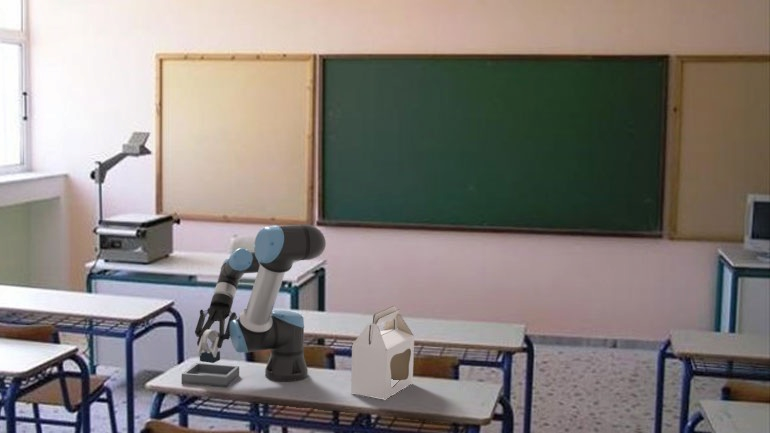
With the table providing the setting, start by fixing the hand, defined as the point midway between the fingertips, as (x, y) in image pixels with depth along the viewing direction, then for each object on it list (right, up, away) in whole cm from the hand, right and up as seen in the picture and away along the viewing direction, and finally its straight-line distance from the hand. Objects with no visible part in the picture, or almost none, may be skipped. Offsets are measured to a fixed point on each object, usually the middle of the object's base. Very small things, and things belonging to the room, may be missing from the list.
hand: (206, 354), depth 325 cm
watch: (0, -3, +4) cm, 5 cm away
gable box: (+61, -12, 0) cm, 62 cm away
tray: (+1, -9, +4) cm, 10 cm away
